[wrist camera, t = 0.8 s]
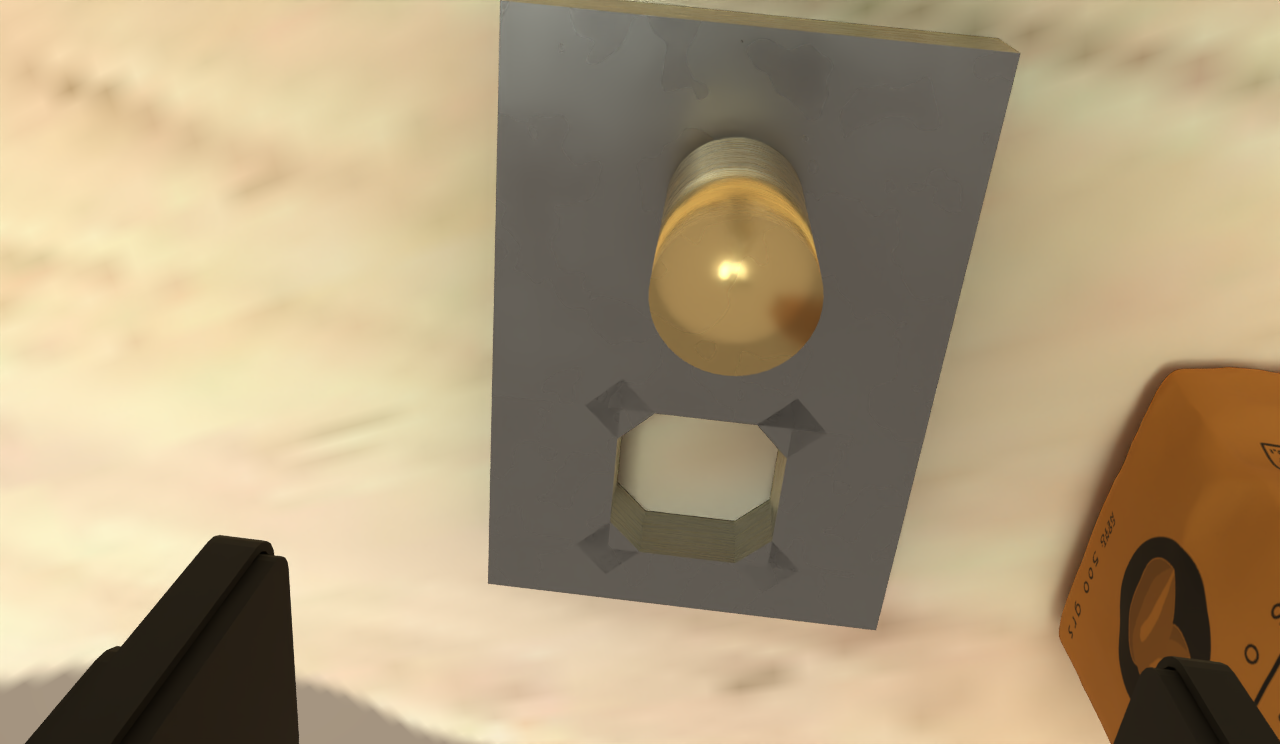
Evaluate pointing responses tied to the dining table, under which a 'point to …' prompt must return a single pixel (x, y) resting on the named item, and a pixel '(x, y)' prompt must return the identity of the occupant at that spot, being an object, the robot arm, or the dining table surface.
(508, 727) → the dining table surface
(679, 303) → the brass cylinder peg
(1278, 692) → the coffee package
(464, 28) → the dining table surface
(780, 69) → the jig
